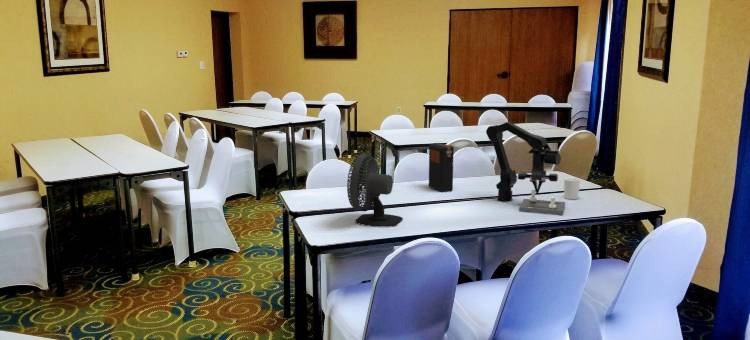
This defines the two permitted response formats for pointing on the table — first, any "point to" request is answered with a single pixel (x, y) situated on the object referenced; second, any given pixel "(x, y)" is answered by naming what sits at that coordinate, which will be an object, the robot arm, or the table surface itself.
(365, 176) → the fan
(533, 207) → the board
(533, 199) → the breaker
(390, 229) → the table surface
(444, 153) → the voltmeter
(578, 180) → the white cup
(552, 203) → the block
